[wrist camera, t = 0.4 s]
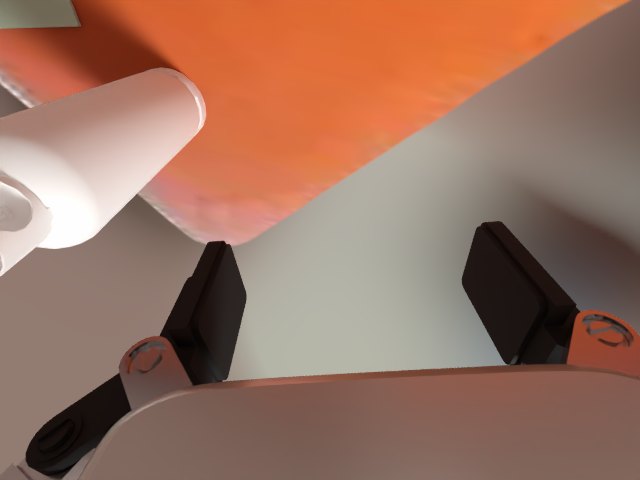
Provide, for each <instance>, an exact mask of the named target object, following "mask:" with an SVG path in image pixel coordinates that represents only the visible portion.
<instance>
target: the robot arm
mask: <svg viewBox="0 0 640 480" xmlns="http://www.w3.org/2000/svg"><path fill="white" fill-rule="evenodd" d="M462 285H463V288H464V290H465V292H466V293H467V295H468V297H469V299H470V301H471V303H472V304H473V306H474V308H475V310H476V312H477V313H478V315H479V317H480V319H481V321H482V323H483V325H484V326H485V328H486V330H487V332H488V333H489V335H490V337H491V339H492V341H493V343H494V345H495V346H496V348H497V350H498V352H499V354H500V356H501V357H502V359H503V361H504V362H505V363H506V364H508V365H505V366H482V367H461V368H442V369H421V370H402V371H385V372H366V373H347V374H331V375H313V376H298V377H297V376H296V377H280V378H266V379H251V380H239V381H225V382H222V381H223V380H226V379H227V378H228V375H229V371H230V366H231V362H232V358H233V354H234V350H235V345H236V341H237V337H238V333H239V329H240V325H241V320H242V316H243V312H244V308H245V304H246V291H245V288H244V285H243V282H242V279H241V275H240V272H239V269H238V266H237V263H236V260H235V257H234V254H233V251H232V248H231V245H230V244H226V243H225V241H213V242H208V243H207V245H206V247H205V250H204V252H203V254H202V256H201V258H200V260H199V262H198V264H197V267H196V269H195V271H194V273H193V275H192V277H189V278H188V279H187V281H186V282H185V284H184V286H183V288H182V290H181V293H180V295H179V297H178V299H177V301H176V303H175V305H174V307H173V309H172V311H171V313H170V315H169V317H168V319H167V321H166V324H165V326H164V328H163V330H162V332H161V334H160V336H153V337H149V338H146V339H144V340H141V341H139V342H138V343H137V344H135V345H133V346H132V347H131V348H130V349H129V350H128V351H127V352H126V353H125V355H124V356H123V358H122V359H121V362H120V365H119V373H118V374H117V375H115V376H114V377H113V378H111V379H110V380H108V381H106V382H105V383H104V384H102V385H101V386H99V387H98V388H96V389H95V390H93V391H92V392H90V393H89V394H87V395H86V396H84V397H83V398H81V399H80V400H78V401H77V402H75V403H74V404H73V405H71V406H70V407H68V408H67V409H65V410H64V411H62V412H61V413H59V414H58V415H56V416H55V417H53V418H52V419H51V420H49V421H48V422H47V423H46V424H45V425H43V427H42V428H41V429H40V430H39V431H38V432H37V433H36V434H35V436H34V437H33V439H32V440H31V442H30V444H29V446H28V449H27V451H26V458H25V459H24V460H23V461H22V462H21V463H20V464H19V465H16V464H14V463H13V464H11V465H10V466H9V467H8V468H7V469H6V470H5V471H4V472H3V473H2V474H1V475H0V480H640V336H639V335H638V334H637V332H636V331H635V330H634V329H633V328H632V327H631V326H630V325H629V324H627V323H626V322H624V321H622V320H621V319H619V318H617V317H615V316H613V315H610V314H608V313H605V312H601V311H595V310H587V311H582V312H580V311H579V310H578V309H577V308H576V304H575V303H574V301H573V300H572V299H571V298H570V297H569V296H568V295H567V294H566V292H565V291H564V290H563V289H562V288H561V287H560V286H559V285H558V284H557V282H556V281H555V280H554V279H553V278H552V277H551V276H550V275H549V274H548V273H547V271H546V270H545V269H544V268H543V267H542V266H541V265H540V264H539V263H538V262H537V260H536V259H535V258H534V257H533V256H532V255H531V254H530V253H529V251H528V250H527V249H526V248H525V247H524V246H523V245H522V244H521V243H520V242H519V241H518V239H517V238H516V237H515V236H514V235H513V234H512V233H511V232H510V230H509V229H508V228H507V227H506V226H505V225H504V224H503V223H502V222H500V221H496V222H484V223H482V224H481V226H479V227H477V228H476V231H475V235H474V238H473V242H472V245H471V249H470V252H469V256H468V259H467V262H466V266H465V269H464V273H463V276H462Z"/></svg>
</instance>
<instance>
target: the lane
mask: <svg viewBox="0 0 640 480" xmlns="http://www.w3.org/2000/svg"><path fill="white" fill-rule="evenodd" d="M77 26H81V24H80V21H79V19H78V16H77V14H76V11H75V9H74V6H73V4H72V1H71V0H0V29H4V28H41V27H77Z"/></svg>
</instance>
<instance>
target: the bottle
mask: <svg viewBox="0 0 640 480" xmlns="http://www.w3.org/2000/svg"><path fill="white" fill-rule="evenodd" d="M205 118H206V108H205V103H204V100H203V97H202V95H201V93H200V91H199V90H198V88H197V87H196V86H195V84H194V83H193V82H192V81H191V80H190V79H188V78H187V77H186V76H185V75H184V74H182V73H180V72H178V71H176V70H174V69H169V68H163V67H160V68H155V69H150V70H147V71H144V72H142V73H138V74H135V75H132V76H129V77H126V78H122V79H119V80H116V81H113V82H110V83H107V84H104V85H101V86H98V87H95V88H91V89H88V90H85V91H82V92H79V93H76V94H73V95H70V96H67V97H64V98H60V99H57V100H54V101H51V102H48V103H45V104H42V105H39V106H36V107H33V108H29V109H27V110H23V111H20V112H17V113H14V114H11V115H8V116H5V117H2V118H0V276H1V275H3V274H4V273H5V272H6V271H7V270H9V269H10V268H11V267H12V266H13V265H15V264H16V263H17V262H18V261H19V260H21V259H22V258H23V257H24V256H26V255H27V254H28V253H29V252H30V251H32V250H33V249H34V248H35V247H42V248H51V249H58V248H64V247H71V246H74V245H77V244H81V243H83V242H84V241H86V240H88V239H90V238H92V237H94V235H96V234H97V233H98V232H99V231H100V230H101V228H103V227H104V226H105V225H106V224H107V223H108V221H110V220H111V219H112V218H113V217H114V216H115V215H116V214H117V213H118V212H119V211H120V210H121V209H122V207H124V206H125V205H126V204H127V203H128V202H129V201H130V200H131V199H132V198H133V197H134V196H135V195H136V194H137V193H138V192H139V191H140V190H141V189H142V188H143V187H144V186H145V185H146V184H147V183H148V182H149V181H150V180H151V179H152V178H153V177H154V176H155V175H156V174H157V173H158V172H159V171H160V170H161V169H162V168H163V167H164V166H165V165H166V164H167V163H168V162H169V161H170V160H171V159H172V158H173V157H174V156H175V155H176V154H177V153H178V152H179V151H180V150H181V149H182V148H183V147H184V146H185V145H186V144H187V143H188V142H189V141H190V140H191V139H192V138H193V137H194V136H195V135H196V134H197V133H198V132H199V131H200V129H201V128H202V127H203V125H204V122H205Z"/></svg>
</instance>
